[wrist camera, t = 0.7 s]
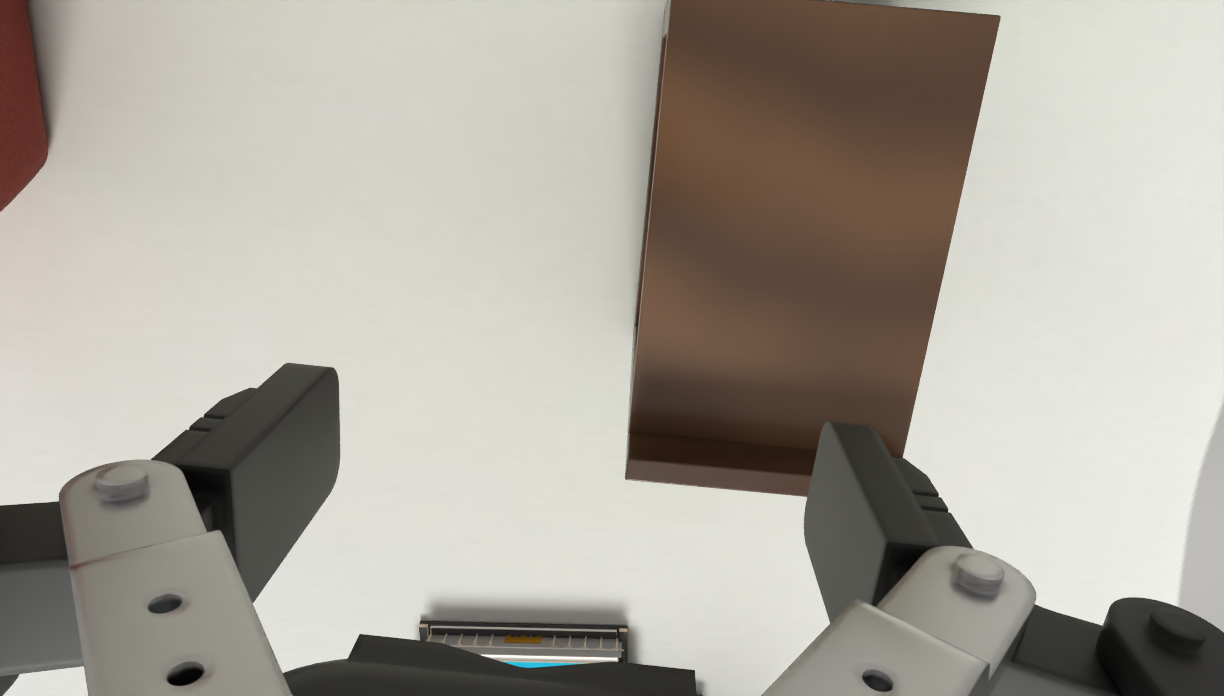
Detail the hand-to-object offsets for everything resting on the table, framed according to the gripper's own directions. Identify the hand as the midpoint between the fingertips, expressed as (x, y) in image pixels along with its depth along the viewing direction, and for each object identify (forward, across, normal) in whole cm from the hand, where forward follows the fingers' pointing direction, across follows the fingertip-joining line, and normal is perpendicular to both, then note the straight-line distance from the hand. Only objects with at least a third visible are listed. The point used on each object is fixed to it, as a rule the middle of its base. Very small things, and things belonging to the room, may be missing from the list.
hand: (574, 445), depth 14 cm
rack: (+26, -6, 0) cm, 26 cm away
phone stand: (+26, +2, +30) cm, 40 cm away
